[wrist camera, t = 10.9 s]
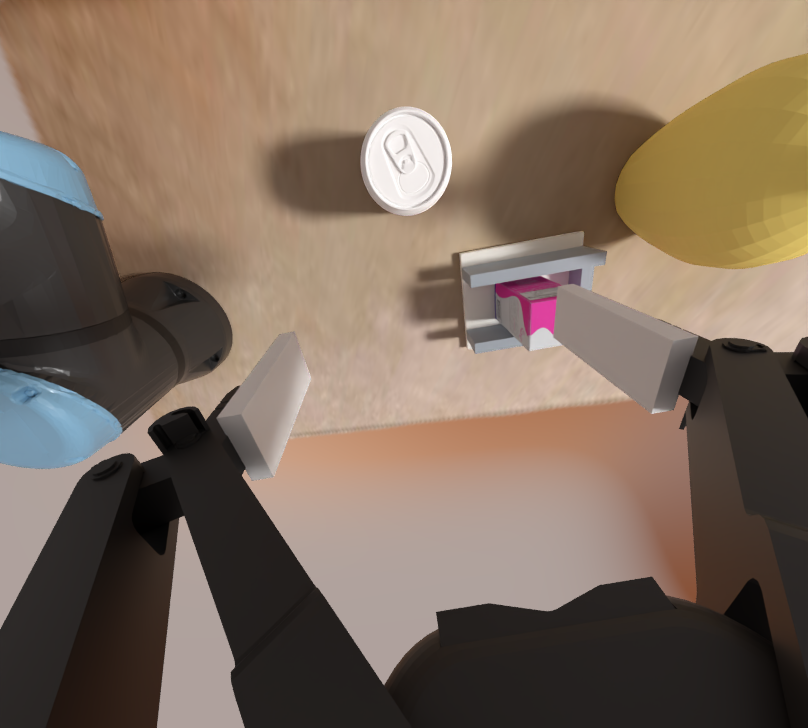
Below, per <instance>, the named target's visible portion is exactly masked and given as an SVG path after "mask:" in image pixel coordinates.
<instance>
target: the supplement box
mask: <svg viewBox="0 0 808 728" xmlns="http://www.w3.org/2000/svg"><path fill="white" fill-rule="evenodd" d="M558 286H563V285H560V284H558V283H556V282H553V281H551V280H549V279H546V278H544V277H542V276H537V277H531V278H525V279H520V280H514V281H508V282H503V283H497V284H495V319H497V321H499V322H500V323H501V324H502V325H503V326H504V327H505V328H506V329H507V330H508V331H509V332H510V333H511V334H512V335H513V336H514V337H515V338H516V339H517V340H518V341H519V342H520V343H521V344H522V345H523V346H524V347H525V348H526V349H527V350H528V351H533V350H538V349H543V348H549V347H555V346H561V345H562V344H561V343H560V342H558V341H557V340H556V339H555V338H553V334H554V323H555V312H556V301H557V290H558Z"/></svg>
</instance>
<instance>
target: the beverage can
mask: <svg viewBox="0 0 808 728" xmlns="http://www.w3.org/2000/svg"><path fill="white" fill-rule="evenodd" d="M360 164H361V173H362V177H363V181H364V184H365V186H366V188H367V190H368V192H369V194H370V195H371V197H372V198H373V199H374V201H375V202H376V203H377V204H378V205H379V206H381V207H382V208H383V209H385V210H386V211H388V212H390V213H393V214H396V215H401V216H411V215H416V214H419V213H422V212H424V211H426V210H428V209H429V208H430V207H432V206H433V205H434V204H435V203H436V202H437V201H438V200H439V199H440V197H441V196H442V194H443V193H444V191H445V189H446V187H447V185H448V182H449V179H450V175H451V168H452V154H451V148H450V144H449V140H448V138H447V135H446V133H445V131H444V130H443V128H442V126H441V125H440V124H439V122H438V121H437V120H436V119H435V118H434V117H433V116H431V115H430V114H429V113H427V112H425V111H423V110H421V109H418V108H415V107H398V108H394V109H391V110H389V111H387V112H385V113H384V114H382V115H381V116H380V117H379V118H378V119H377V120H376V121H375V122H374V123H373V124H372V126H371V127H370V129H369V130H368V132H367V134H366V136H365V139H364V142H363V145H362V149H361V158H360Z"/></svg>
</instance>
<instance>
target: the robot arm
mask: <svg viewBox="0 0 808 728" xmlns="http://www.w3.org/2000/svg"><path fill="white" fill-rule="evenodd" d="M102 220H104V218H103V215H102V213H101V212H100V211H98V210H97V207H96V205H95V202H94V199H93V197H92V194H91V191H90V189H89V186H88V183H87V181H86V178H85V176H84V174H83V172H82V170H81V169H80V168H79V166H78V165H77V164H76V163H75V162H74V161H73V160H71V159H70V158H69V157H67V156H66V155H65V154H63V153H61V152H60V151H58V150H56V149H53V148H51V147H49V146H46V145H44V144H41V143H38V142H35V141H32V140H29V139H26V138H23V137H19V136H15V135H12V134H9V133H5V132H2V131H0V463H2V464H7V465H11V466H17V467H24V468H35V469H51V468H59V467H66V466H70V465H73V464H76V463H78V462H81V461H83V460H85V459H87V458H88V457H90V456H91V455H93V454H94V453H95V452H97V451H98V450H99V449H101V448H102V447H103V446H105V445H106V444H107V443H109V442H111V441H114V440H115V439H116V438H117V437H119V436H120V434H121V433H122V432H123V431H125V430H126V429H127V428H128V427H129V426H130V425H131V424H132V423H134V422H135V421H136V420H137V419H138V418H139V417H141V416H142V415H143V414H144V413H145V412H146V411H147V410H148V409H150V408H151V407H152V406H153V405H154V404H155V403H156V402H157V401H159V400H160V399H161V398H162V397H163V396H164V395H165V394H166V393H168V392H169V391H170V390H171V389H172V388H173V387H174V386H176V385H178V384H181V383H184V382H187V381H190V380H193V379H196V378H199V377H202V376H204V375H206V374H208V373H210V372H212V371H213V370H214V369H216V368H217V367H218V366H219V365H220V364H221V363H222V362H223V361H224V360H225V359H226V357H227V356H228V354H229V352H230V350H231V346H232V329H231V325H230V322H229V320H228V317H227V316H226V314H225V312H224V310H223V309H222V307H221V306H220V305H219V303H218V302H217V301H216V300H215V299H214V298H213V297H212V296H211V295H210V294H209V293H208V292H207V291H205V290H204V289H203V288H201V287H200V286H198V285H197V284H195V283H193V282H191V281H189V280H187V279H185V278H182V277H180V276H176V275H172V274H167V273H148V274H143V275H140V276H137V277H133V278H130V279H128V280H126V281H124V282H122V283H121V281H120V278H119V275H118V271H117V268H116V265H115V262H114V259H113V255H112V252H111V249H110V246H109V242H108V239H107V236H106V233H105V230H104V226H103V223H102ZM553 338H555V339H556V340H557V341H558V342H560V343H561V344H562V345H564V346H565V347H566V348H567V349H569V350H570V351H571V352H573V353H574V354H575V355H576V356H578V357H579V358H580V359H582V360H583V361H584V362H586V363H587V364H588V365H589V366H591V367H592V368H593V369H595V370H596V371H597V372H598V373H600V374H601V375H602V376H604V377H605V378H606V379H607V380H609V381H610V382H611V383H613V384H614V385H615V386H616V387H618V388H619V389H620V390H622V391H623V392H624V393H625V394H627V395H628V396H629V397H631V398H632V399H633V400H634V401H636V402H637V403H638V404H640V405H641V406H642V407H644V408H645V409H646V410H647V411H649V412H650V413H651V414H653V413H658V412H664V411H671V410H674V408H675V405H676V402H677V399H678V396H679V395H681V396H682V397H684V398H686V399H687V400H689V403H688V406H687V408H686V411H685V414H684V417H683V419H682V423H681V425H680V428H679V429H684V428H685V426H687V441H688V456H689V472H690V487H691V504H692V519H693V535H694V552H695V567H696V581H697V582H696V583H697V598H696V603H692V602H690V601H687V600H683V599H679V598H675V597H671V596H666V595H665V594H664V592H663V591H662V590H661V588H660V587H659V585H658V584H657V583H656V581H655V580H654V579H653V577H647V578H641V579H635V580H629V581H623V582H616V583H611V584H604V585H599V586H597V587H595V588H593V589H592V590H590V591H588V592H586V593H585V594H583V595H581V596H579V597H577V598H576V599H574V600H572V601H571V602H569V603H567V604H565V605H563V606H561V607H560V608H558V609H556V610H553V611H540V610H532V609H525V608H518V607H511V606H503V605H496V604H482V605H476V606H470V607H464V608H458V609H452V610H446V611H440V612H436V615H437V621H438V629H437V630H436V631H434V632H432V633H430V634H429V635H427V636H426V637H424V638H423V639H422V640H420V641H419V642H418V643H416V644H415V645H414V646H413V647H412V648H411V649H410V650H409V651H408V652H407V653H406V654H405V655H404V657H403V658H402V659H401V661H400V662H399V663H398V664H397V666H396V667H395V668H394V670H393V672H392V673H391V675H390V677H389V679H388V680H387V682H386V683H385V685H383V684H382V682H381V681H380V679H379V678H378V676H377V675H376V673H375V672H374V670H373V669H372V667H371V666H370V664H369V663H368V661H367V660H366V658H365V657H364V655H363V654H362V652H361V651H360V649H359V648H358V646H357V645H356V643H355V642H354V640H353V639H352V637H351V636H350V635H349V633H348V631H347V630H346V628H345V627H344V625H343V624H342V622H341V621H340V620H339V618H338V617H337V615H336V614H335V612H334V611H333V609H332V608H331V606H330V605H329V604H328V602H327V600H326V599H325V597H324V596H323V594H322V593H321V592H320V590H319V589H318V588H316V586H315V585H314V584H313V582H312V581H311V579H310V578H309V576H308V575H307V573H306V572H305V570H304V569H303V567H302V566H301V564H300V563H299V561H298V560H297V558H296V557H295V555H294V554H293V552H292V551H291V549H290V548H289V546H288V545H287V543H286V542H285V540H284V539H283V537H282V536H281V534H280V533H279V531H278V530H277V528H276V527H275V525H274V524H273V522H272V521H271V519H270V518H269V516H268V515H267V513H266V512H265V510H264V509H263V507H262V506H261V504H260V503H259V501H258V500H257V498H256V497H255V495H254V494H253V492H252V491H251V489H250V488H249V486H248V485H247V483H246V482H245V480H244V479H243V477H242V474H243V472H244V470H246V471H247V473H248V475H249V477H250V478H251V480H252V481H254V480H260V479H266V478H272V477H274V475H275V472H276V470H277V467H278V464H279V462H280V459H281V457H282V454H283V452H284V449H285V446H286V444H287V441H288V438H289V436H290V433H291V431H292V428H293V425H294V423H295V420H296V417H297V415H298V412H299V410H300V407H301V404H302V402H303V399H304V396H305V394H306V391H307V389H308V386H309V383H310V381H311V376H310V374H309V371H308V368H307V365H306V362H305V359H304V356H303V354H302V351H301V348H300V345H299V342H298V339H297V336H296V334H295V332H289V333H283V334H279V335H278V337H277V338H276V339H275V341H274V342H273V343H272V345H271V346H270V347H269V349H268V350H267V351H266V353H265V354H264V355H263V357H262V358H261V359H260V361H259V362H258V363H257V365H256V366H255V367H254V369H253V370H252V371H251V373H250V374H249V375H248V377H247V378H246V379H245V381H244V382H243V383H242V385H241V386H237V387H236V388H234V389H233V390H231V391H230V392H229V393H227V394H226V396H225V397H224V398H223V399H222V401H221V402H220V404H218V406H217V407H216V408H215V410H214V411H213V412H212V413H211V415H210V416H209V417H208V418H207V420H206V421H205V419H204V417H203V415H202V414H201V412H200V410H199V409H198V408H196V407H184V408H180V409H177V410H175V411H172V412H170V413H168V414H166V415H164V416H162V417H161V418H159V419H158V420H156V421H155V422H154V423H153V424H152V425H151V426H150V427H149V428H148V434H149V435H150V437H151V438H152V440H153V441H154V442H155V444H156V445H157V446H158V448H159V449H160V451H161V452H162V453H163V455H162V456H160V457H157V458H154V459H151V460H149V461H146V462H143V463H140V462H139V461H138V460H137V458H136V457H135V456H134V455H133V454H130V453H128V454H121V455H117V456H114V457H111V458H109V459H107V460H104V461H101V462H100V463H99V464H97V465H95V466H94V467H92V468H91V469H90V470H89V471H88V472H87V473H85V474H84V475H83V476H82V477H81V479H80V480H79V482H78V483H77V485H76V486H75V488H74V490H73V492H72V494H71V496H70V498H69V500H68V502H67V504H66V506H65V507H64V509H63V511H62V513H61V515H60V517H59V519H58V521H57V523H56V525H55V526H54V528H53V530H52V532H51V534H50V536H49V538H48V540H47V542H46V544H45V546H44V547H43V549H42V551H41V553H40V555H39V557H38V559H37V561H36V563H35V564H34V566H33V568H32V570H31V572H30V574H29V576H28V578H27V580H26V582H25V584H24V585H23V587H22V589H21V591H20V593H19V595H18V597H17V599H16V601H15V603H14V604H13V606H12V608H11V610H10V612H9V614H8V616H7V618H6V620H5V621H4V623H3V625H2V627H1V629H0V728H157V721H158V711H159V702H160V692H161V683H162V673H163V664H164V655H165V645H166V635H167V627H168V617H169V608H170V597H171V589H172V579H173V570H174V561H175V551H176V542H177V533H178V524H179V518H180V517H182V516H185V518H186V521H187V524H188V527H189V530H190V533H191V536H192V539H193V542H194V544H195V547H196V550H197V553H198V556H199V559H200V562H201V565H202V567H203V570H204V573H205V576H206V579H207V581H208V585H209V588H210V590H211V593H212V596H213V599H214V602H215V604H216V608H217V611H218V613H219V616H220V619H221V622H222V625H223V628H224V631H225V633H226V636H227V639H228V642H229V645H230V648H231V651H232V654H233V657H234V660H235V668H234V669H233V670H232V671H231V683H232V687H233V691H234V695H235V698H236V701H237V704H238V707H239V711H240V714H241V717H242V720H243V723H244V726H245V728H808V337H805V338H802V339H801V340H800V342H799V343H798V345H797V347H796V349H795V351H794V352H773V351H772V350H771V349H770V348H769V347H768V346H765V345H764V344H761V343H758V342H754V341H750V340H745V339H737V338H722V339H716V340H713V341H710V340H708V339H705V338H703V337H700V336H698V335H696V334H693V333H691V332H689V331H686V330H682V329H681V328H679V327H677V326H674V325H671V324H669V323H667V322H665V321H662V320H660V319H656V318H654V317H651V316H649V315H647V314H644V313H642V312H639V311H637V310H635V309H632V308H630V307H627V306H625V305H623V304H620V303H618V302H616V301H613V300H611V299H608V298H606V297H604V296H601V295H599V294H597V293H594V292H592V291H589V290H587V289H585V288H582V287H580V286H578V285H575V284H569V285H563V286H558V290H557V301H556V312H555V323H554V334H553Z"/></svg>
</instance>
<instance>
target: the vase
mask: <svg viewBox="0 0 808 728" xmlns="http://www.w3.org/2000/svg"><path fill="white" fill-rule="evenodd" d="M614 200H615V205H616V210H617V213H618V214H619V216H620V217H621V219H622V220H623V222H624V223H625V224H626V225H627V226H628V227H629V228H630V229H631V230H632V231H633V232H634V233H636V234H637V235H638V236H639V237H641V238H642V239H643V240H645V241H646V242H648V243H650V244H651V245H653V246H655V247H656V248H658V249H660V250H661V251H663V252H665V253H666V254H668V255H670V256H672V257H674V258H676V259H678V260H681V261H683V262H686V263H689V264H694V265H700V266H708V267H716V268H725V269H745V268H752V267H757V266H762V265H767V264H772V263H777V262H781V261H786V260H790V259H793V258H796V257H799V256H802V255H805V254H807V253H808V53H807V54H803V55H799V56H795V57H791V58H787V59H783V60H780V61H777V62H774V63H771V64H769V65H766V66H764V67H761V68H759V69H757V70H755V71H753V72H751V73H749V74H747V75H745V76H743V77H741V78H739V79H738V80H736V81H734V82H732V83H731V84H729V85H727V86H726V87H724V88H722V89H720V90H719V91H717V92H715V93H714V94H712V95H710V96H709V97H707V98H705V99H704V100H702V101H700V102H699V103H697V104H695V105H694V106H692V107H691V108H689V109H688V110H686V111H685V112H683V113H682V114H680V115H679V116H677V117H676V118H675V119H673V120H672V121H671V122H669V123H668V124H667V125H665V126H664V127H663V128H661V129H660V130H659V131H658V132H656V133H655V134H654V135H653V136H652V137H650V138H649V139H648V140H647V141H646V142H645V143H643V144H642V145H641V146H640V147H639V148H638V149H637V150H636V151H635V152H634V153H633V154H632V155H631V156H630V158H629V159H628V161H627V163H626V164H625V166H624V167H623V169H622V170H621V173H620V176H619V178H618V181H617V184H616V189H615V199H614Z"/></svg>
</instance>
